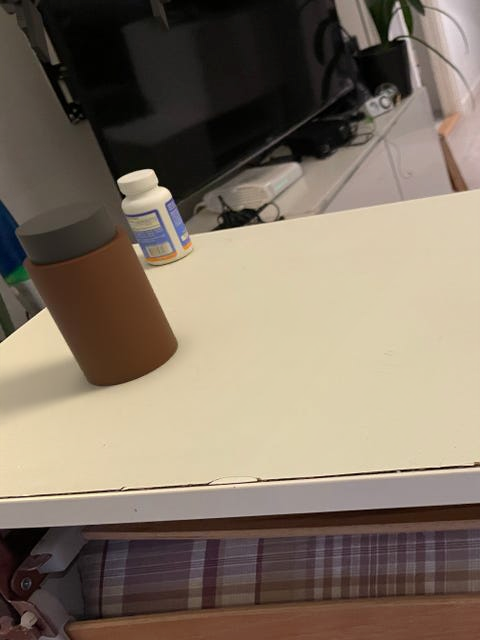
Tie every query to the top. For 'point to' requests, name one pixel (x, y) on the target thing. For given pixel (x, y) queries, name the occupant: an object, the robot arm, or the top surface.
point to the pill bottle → (154, 218)
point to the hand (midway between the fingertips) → (102, 39)
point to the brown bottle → (96, 292)
